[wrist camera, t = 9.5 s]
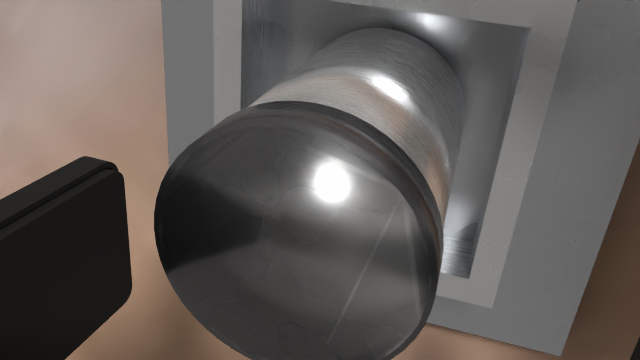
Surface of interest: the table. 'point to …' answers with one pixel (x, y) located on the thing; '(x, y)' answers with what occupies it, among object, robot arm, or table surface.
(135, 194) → the table surface
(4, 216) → the robot arm
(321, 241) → the grey jar with lid
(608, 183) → the collar
